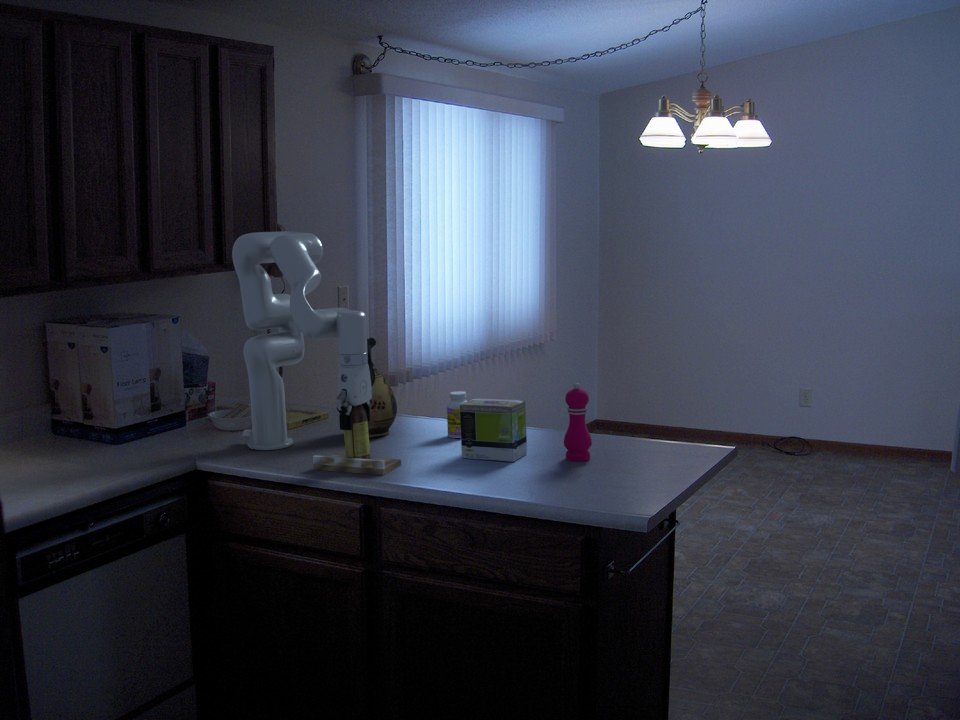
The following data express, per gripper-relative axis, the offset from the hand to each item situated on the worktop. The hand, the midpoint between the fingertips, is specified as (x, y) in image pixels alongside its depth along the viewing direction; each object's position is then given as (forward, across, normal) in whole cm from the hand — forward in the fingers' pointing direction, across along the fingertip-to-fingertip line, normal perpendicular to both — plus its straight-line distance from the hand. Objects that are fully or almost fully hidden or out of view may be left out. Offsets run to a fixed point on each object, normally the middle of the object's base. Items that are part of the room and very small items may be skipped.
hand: (355, 425), depth 256 cm
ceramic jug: (+12, +33, +13) cm, 38 cm away
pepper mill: (+10, +22, -53) cm, 58 cm away
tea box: (+11, +19, -31) cm, 38 cm away
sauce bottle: (+10, 0, 0) cm, 10 cm away
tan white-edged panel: (+11, -1, -1) cm, 11 cm away
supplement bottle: (+11, +38, -13) cm, 42 cm away
